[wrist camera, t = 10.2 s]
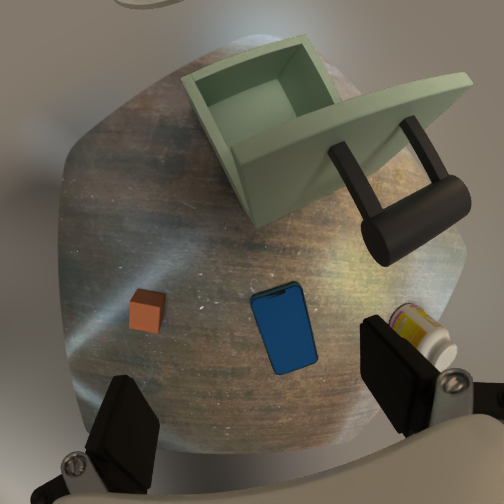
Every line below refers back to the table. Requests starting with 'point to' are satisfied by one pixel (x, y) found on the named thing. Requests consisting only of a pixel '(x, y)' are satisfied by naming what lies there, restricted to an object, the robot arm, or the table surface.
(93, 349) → the table surface
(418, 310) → the supplement bottle
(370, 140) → the box lid
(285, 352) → the smartphone
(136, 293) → the block
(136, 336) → the table surface
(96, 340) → the table surface
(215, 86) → the green box
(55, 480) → the robot arm
